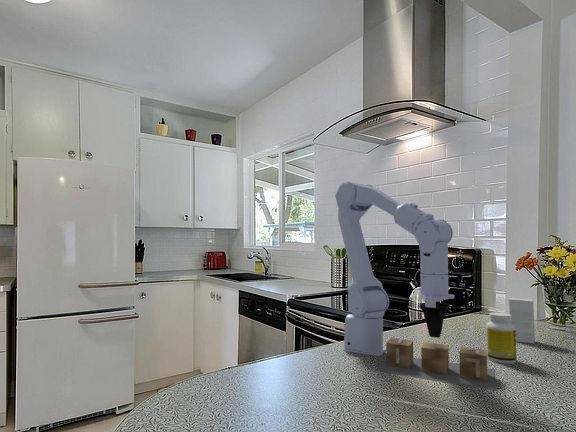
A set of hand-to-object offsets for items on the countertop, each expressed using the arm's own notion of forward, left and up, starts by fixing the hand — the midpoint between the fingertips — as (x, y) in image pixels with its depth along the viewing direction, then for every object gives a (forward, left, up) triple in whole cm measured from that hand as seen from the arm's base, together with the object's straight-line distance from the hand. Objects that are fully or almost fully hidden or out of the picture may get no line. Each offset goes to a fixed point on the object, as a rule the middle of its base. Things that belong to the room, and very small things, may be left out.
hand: (434, 336), depth 83 cm
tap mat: (0, 0, -7) cm, 7 cm away
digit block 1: (-8, 0, -7) cm, 10 cm away
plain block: (0, 0, -7) cm, 7 cm away
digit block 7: (+7, 0, -7) cm, 10 cm away
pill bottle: (+13, +16, -8) cm, 22 cm away
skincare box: (+19, +41, -8) cm, 46 cm away
